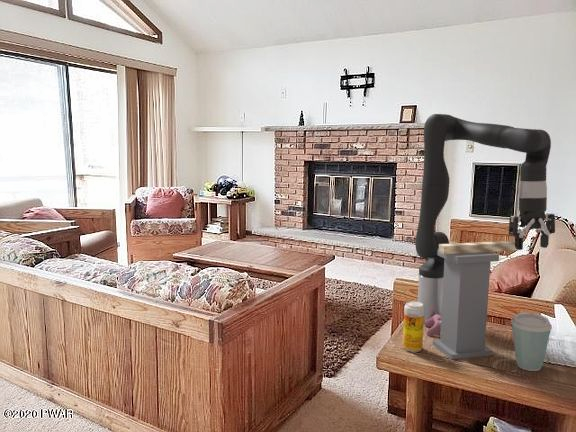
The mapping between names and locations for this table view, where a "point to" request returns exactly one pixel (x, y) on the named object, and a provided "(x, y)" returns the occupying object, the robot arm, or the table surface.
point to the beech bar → (477, 247)
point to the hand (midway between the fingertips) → (531, 248)
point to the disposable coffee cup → (530, 339)
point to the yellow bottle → (413, 326)
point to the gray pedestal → (465, 304)
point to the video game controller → (437, 325)
